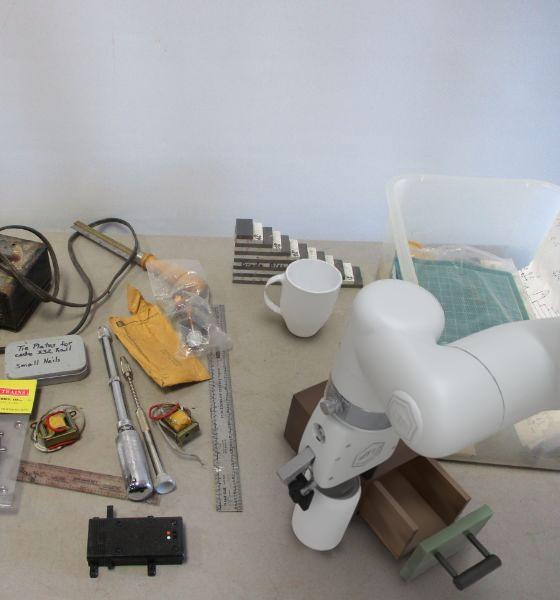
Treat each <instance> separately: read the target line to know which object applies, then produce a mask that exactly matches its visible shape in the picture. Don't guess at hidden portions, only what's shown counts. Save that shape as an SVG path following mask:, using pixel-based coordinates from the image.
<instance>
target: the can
mask: <svg viewBox="0 0 560 600" xmlns="http://www.w3.org/2000/svg"><path fill="white" fill-rule="evenodd" d="M304 476H305V477H306V479H307V480H308V481H309V480H310V479H311V477H312V476H313V475H312V473H311V472H310V471H309V469H308V468H307V470H306V471H305V474H304ZM313 490H314V496H313V499H312V501H311V504H310V507H309V509H308V510H306V511H303V510H302V509H301V507H300V506H299V504H298V503H297V504H295V505H294V509H293V512H292V517H291V527H292V530H293V533H294V535H295V537H296V538H297V539H298V541H300V542H301V543H302V544H303V545H305V546H306V547H308V548H309V549H312V550H315V551H330V550H332V549H334V548H336V547H337V546H338V545H339V544H340V542H341V541H342V539H343V537H344V535H345V533H346V531H347V528H348V526H349V524H350V522H351V521H350V519H351V517H352V515H353V513H354V510H355V508H356V506H357V503H358V501H359V498H360V494H361V486H360V476H359V475H357V476H355V477H353V478H351V479H349V480H347V481H345V482H343V483H340V484H338V485H336V486H334V487H331V488H321V487H320V486H319V485H318V484H317V485H316V486H315V487H314V488H313Z"/></svg>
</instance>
